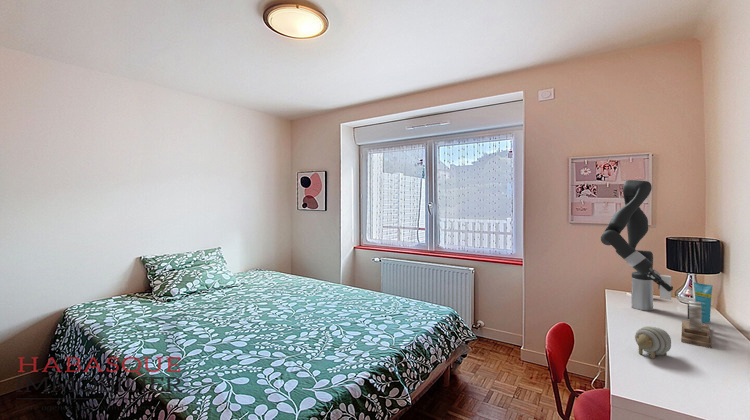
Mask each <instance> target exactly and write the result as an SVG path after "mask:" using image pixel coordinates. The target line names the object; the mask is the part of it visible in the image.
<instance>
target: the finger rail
mask: <svg viewBox="0 0 750 420" xmlns="http://www.w3.org/2000/svg"><path fill="white" fill-rule="evenodd" d="M687 320H688V321H686V320H681V337H680V339H681V340H680V341H681V342H682V343H685V344H691V345H697V346H701V347H704V346H705V347H706V348H709V347H710V348H711V349H712V339H711V338H712V337H711V334H710V333H711V332H710V328H709V325H708V324H705V323H704V324H703V322H702V318H701V303H700V302H695V301H693V300H691V301H690V300H689V301H688V303H687Z"/></svg>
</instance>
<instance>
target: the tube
mask: <svg viewBox="0 0 750 420" xmlns="http://www.w3.org/2000/svg"><path fill="white" fill-rule="evenodd" d="M693 289H694V300H695V301H694V302H700V303H701V318H702V323H704V324H705V323H706V324H710V323H711V310H712V308H711V307H712V295H713V294H712V293H713V285H712V284H707V283H706V284H704V283H699V282H693Z"/></svg>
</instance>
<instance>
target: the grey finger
mask: <svg viewBox="0 0 750 420" xmlns="http://www.w3.org/2000/svg"><path fill="white" fill-rule="evenodd" d="M660 277H662V280H664V281H665V282H666V283H667V284H668V285H669V286H670V287H671V286H672V276H671V275H667V274H666V275H665V274H660ZM658 282H660V280H659V281H658ZM657 286H658V290H659V299H662V300H669V301H672V291H670V292H668V291H667V290H666V289H665V288H664V287H662V286H661V285H658V284H657Z"/></svg>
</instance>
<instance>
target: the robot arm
mask: <svg viewBox="0 0 750 420" xmlns="http://www.w3.org/2000/svg"><path fill="white" fill-rule="evenodd" d="M651 191H652V183H651V182H650V181H649V180H634V179H628V180H626V181H625V182H624V183H623V185H622V196H623V199H624V205H623V206H622V207H620V208H618V210H617V211H616V212H614V214H613V216H612V218H611V219H610V221H609V222H608V225H607V226H606V228H605V230H604V231H603V232H602V234H601V236H600V242H601V243H602V244H603V245H605V246H612V247H613V248H614V249H615V252H616V254H617V255H618V256H620V257H621V258H622V259H623V260H624V261H625V262H626V263H627V264H628V265H629V266H630V267H632V268H633V270H635V271H633V272H632V273H631V295H630V296H631V308H632V309H633V308H634V309H636V310H641V311H650V312H651V311H654V283H655V284H657V286H658V285H661V286H662V287H664V288H665V289H666V290H667V291H668V292H670V291H671V292H672V291H673V289H674V287H673V285H671V287H670V286H669V285H668V284H667V283H666V282H665V281H664V280H662V277H660V275H661V273H659V272H658V270H656V269H653V268H654V267H653V266H654V254H653V252H652V251H650V250H639V249H638V250H637V249H636V247H637V245H638V244H639V243H640V241H641V240H642V239H643V238H644V237H645V236H646V235H647V233H648V231H649V220H648V217H647V215H646V213H645V212H644V211H643V210H642V208H641V206H642V204H643V203H644V202H645V201H646V200H647V198H648V197H649V196H650V193H651ZM625 228H626V230H627V240H626V239H625V238H624V237H623V236H622V235H621V233H622V232H623V230H624V229H625ZM627 241H628V242H627ZM659 280H660V282H658V281H659Z"/></svg>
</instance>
